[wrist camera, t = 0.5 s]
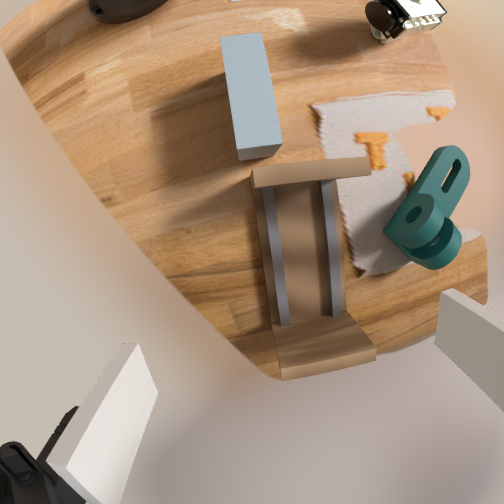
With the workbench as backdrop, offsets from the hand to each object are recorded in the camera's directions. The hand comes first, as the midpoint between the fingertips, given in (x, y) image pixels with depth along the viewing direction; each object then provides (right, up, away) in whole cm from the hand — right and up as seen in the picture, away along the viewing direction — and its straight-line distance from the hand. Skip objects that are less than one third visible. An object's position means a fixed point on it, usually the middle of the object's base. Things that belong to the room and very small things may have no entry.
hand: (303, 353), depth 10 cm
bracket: (+23, +12, +23) cm, 35 cm away
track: (+4, +4, +24) cm, 25 cm away
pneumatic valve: (+18, +36, +18) cm, 43 cm away
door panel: (-2, +21, +20) cm, 29 cm away
